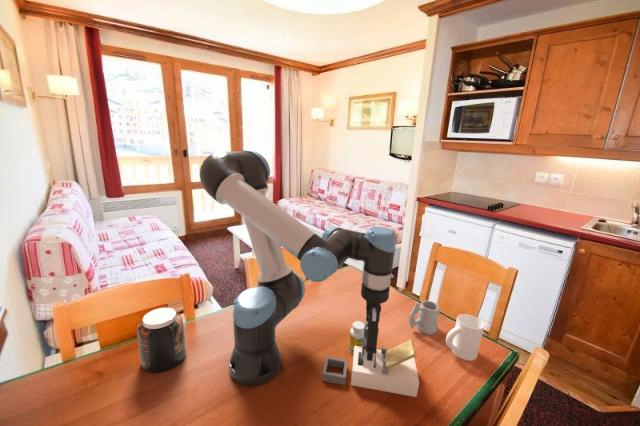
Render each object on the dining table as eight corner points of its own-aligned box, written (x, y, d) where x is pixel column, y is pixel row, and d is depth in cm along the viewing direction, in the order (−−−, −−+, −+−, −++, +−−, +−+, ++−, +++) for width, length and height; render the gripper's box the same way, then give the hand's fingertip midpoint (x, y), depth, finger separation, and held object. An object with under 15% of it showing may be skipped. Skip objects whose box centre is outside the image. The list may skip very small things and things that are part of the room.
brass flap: (384, 370, 80) (382, 368, 79) (383, 355, 85) (381, 352, 85) (416, 356, 77) (414, 353, 77) (412, 341, 82) (410, 338, 82)
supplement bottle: (357, 341, 97) (359, 317, 95) (368, 351, 93) (370, 326, 91) (345, 347, 94) (347, 322, 92) (355, 358, 90) (358, 332, 88)
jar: (152, 380, 78) (146, 335, 74) (135, 359, 85) (128, 316, 81) (193, 356, 88) (189, 314, 83) (174, 339, 94) (170, 299, 90)
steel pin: (359, 377, 83) (364, 331, 79) (359, 367, 87) (364, 322, 82) (373, 380, 82) (378, 333, 78) (372, 369, 86) (378, 324, 82)
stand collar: (322, 380, 81) (322, 373, 81) (325, 363, 88) (326, 356, 87) (345, 384, 80) (345, 377, 80) (346, 366, 87) (347, 360, 86)
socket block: (351, 385, 80) (353, 365, 78) (353, 358, 90) (354, 340, 88) (416, 397, 78) (420, 377, 76) (411, 368, 87) (414, 350, 85)
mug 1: (441, 333, 104) (447, 305, 101) (413, 338, 101) (418, 308, 97) (428, 320, 111) (433, 293, 108) (401, 324, 108) (406, 296, 104)
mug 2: (435, 346, 97) (441, 316, 94) (464, 341, 100) (471, 312, 97) (451, 364, 90) (458, 332, 86) (482, 358, 93) (490, 327, 89)
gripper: (393, 312, 64) (383, 387, 70) (387, 265, 88) (379, 324, 93) (360, 308, 65) (352, 382, 71) (362, 262, 89) (357, 321, 94)
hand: (368, 349), depth 82 cm, fingers open, 12 cm apart
